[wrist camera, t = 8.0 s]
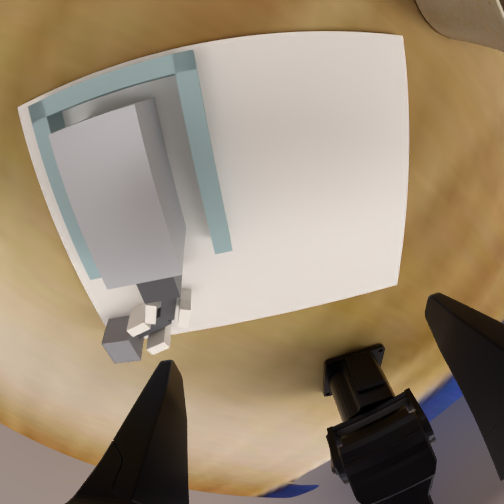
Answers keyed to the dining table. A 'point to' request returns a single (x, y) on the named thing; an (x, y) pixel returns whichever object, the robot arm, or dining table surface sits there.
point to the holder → (184, 67)
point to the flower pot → (467, 20)
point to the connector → (125, 198)
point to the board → (275, 172)
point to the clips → (147, 315)
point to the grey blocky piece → (130, 347)
